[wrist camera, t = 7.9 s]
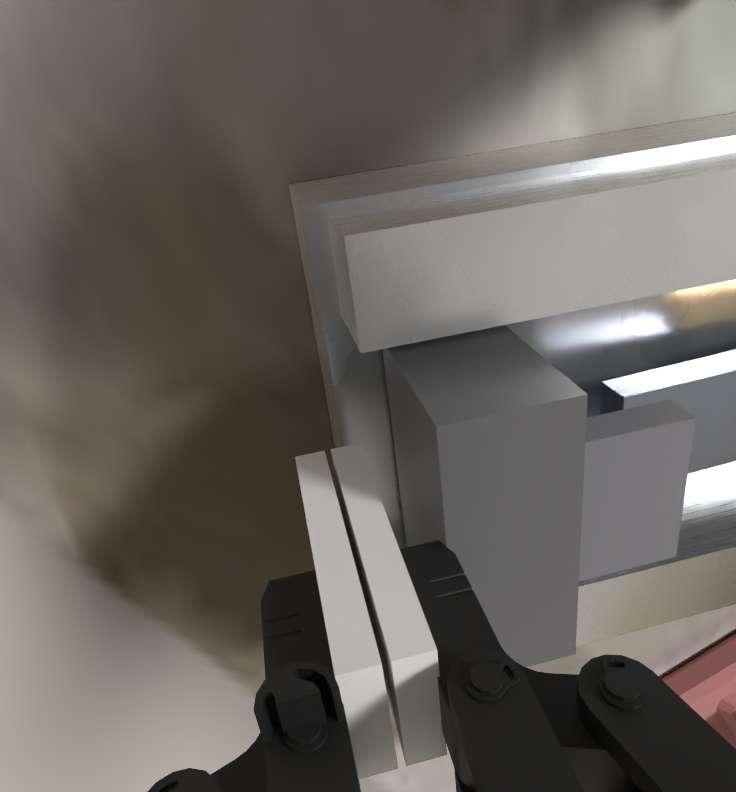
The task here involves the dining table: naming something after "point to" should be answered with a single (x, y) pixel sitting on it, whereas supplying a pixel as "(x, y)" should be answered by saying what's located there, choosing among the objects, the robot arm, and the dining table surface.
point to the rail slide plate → (541, 303)
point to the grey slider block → (530, 479)
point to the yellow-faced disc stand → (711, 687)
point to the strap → (687, 402)
